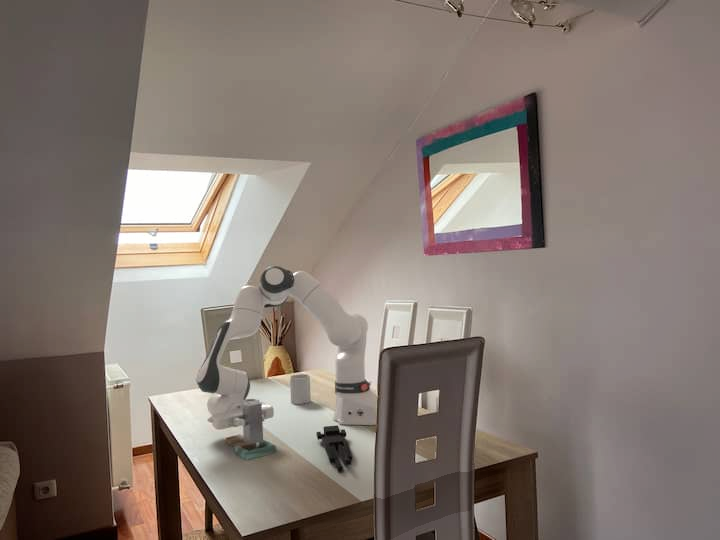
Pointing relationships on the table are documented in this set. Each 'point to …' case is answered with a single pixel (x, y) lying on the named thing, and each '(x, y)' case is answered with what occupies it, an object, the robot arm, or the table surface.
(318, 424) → the table surface
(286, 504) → the table surface
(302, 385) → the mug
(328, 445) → the toy
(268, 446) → the tray
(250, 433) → the block
